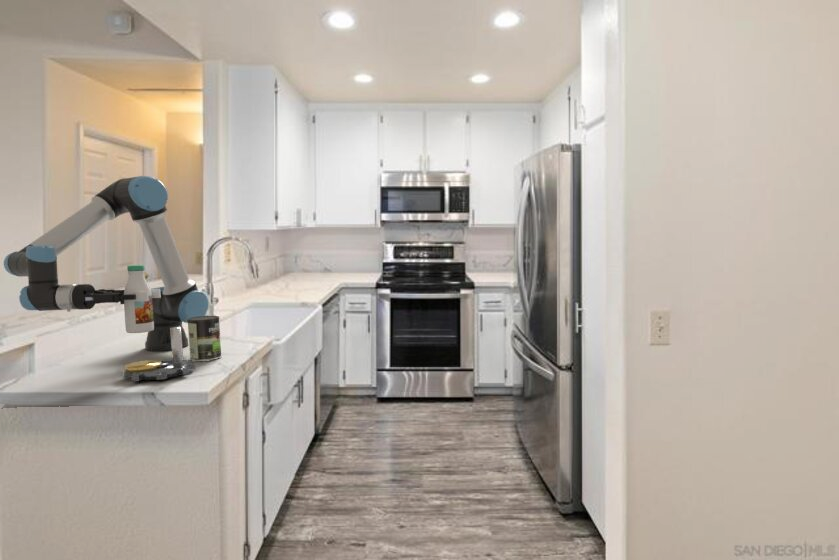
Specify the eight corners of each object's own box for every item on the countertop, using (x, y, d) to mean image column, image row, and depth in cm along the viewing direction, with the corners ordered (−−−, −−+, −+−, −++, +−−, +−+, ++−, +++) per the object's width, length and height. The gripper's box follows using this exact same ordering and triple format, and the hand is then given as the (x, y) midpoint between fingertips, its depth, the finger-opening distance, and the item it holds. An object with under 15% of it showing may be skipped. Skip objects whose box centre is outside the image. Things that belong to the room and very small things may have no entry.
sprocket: (124, 370, 185) (120, 326, 184) (191, 362, 193) (188, 320, 192) (124, 384, 167) (120, 336, 166) (197, 375, 176) (194, 328, 175)
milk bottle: (125, 334, 173) (120, 266, 172) (126, 330, 180) (122, 265, 179) (154, 332, 176) (149, 265, 175) (154, 328, 183) (150, 264, 182)
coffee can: (227, 355, 207) (225, 315, 206) (211, 362, 197) (208, 320, 196) (200, 354, 209) (198, 315, 208) (183, 361, 199) (180, 320, 198)
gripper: (96, 305, 188) (168, 303, 188) (58, 314, 167) (139, 311, 168) (94, 281, 187) (167, 279, 187) (55, 287, 167) (137, 285, 167)
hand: (154, 294), depth 178 cm, fingers closed on milk bottle, 8 cm apart
